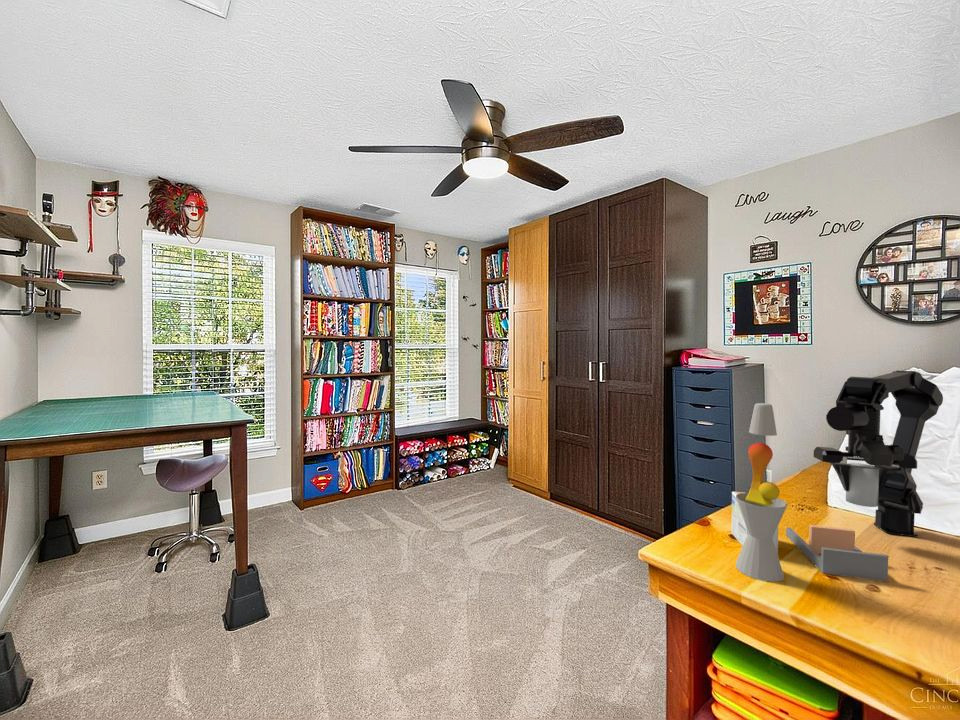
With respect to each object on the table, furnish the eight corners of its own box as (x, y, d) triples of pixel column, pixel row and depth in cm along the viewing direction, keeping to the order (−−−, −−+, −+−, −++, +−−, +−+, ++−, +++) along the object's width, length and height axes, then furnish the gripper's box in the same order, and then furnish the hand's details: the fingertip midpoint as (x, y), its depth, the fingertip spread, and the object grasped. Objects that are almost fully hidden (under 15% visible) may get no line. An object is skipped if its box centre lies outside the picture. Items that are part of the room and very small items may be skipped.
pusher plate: (851, 555, 99) (852, 529, 99) (854, 558, 98) (855, 531, 98) (808, 550, 101) (809, 524, 101) (810, 553, 100) (811, 526, 100)
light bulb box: (778, 554, 100) (780, 507, 100) (746, 551, 101) (747, 505, 101) (759, 535, 110) (760, 492, 110) (729, 533, 112) (730, 490, 112)
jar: (869, 500, 110) (870, 464, 110) (883, 508, 104) (885, 470, 104) (840, 497, 112) (841, 462, 112) (853, 505, 106) (854, 468, 106)
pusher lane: (837, 540, 108) (838, 520, 108) (887, 581, 89) (888, 556, 89) (785, 535, 111) (786, 515, 111) (822, 573, 92) (823, 549, 92)
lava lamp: (726, 568, 93) (730, 402, 92) (744, 556, 99) (749, 400, 98) (775, 587, 86) (780, 407, 85) (792, 573, 92) (796, 404, 91)
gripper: (834, 431, 103) (832, 498, 103) (935, 437, 97) (932, 507, 98) (813, 424, 113) (811, 484, 114) (903, 429, 108) (900, 492, 108)
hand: (861, 492), depth 108 cm, fingers closed on jar, 6 cm apart
